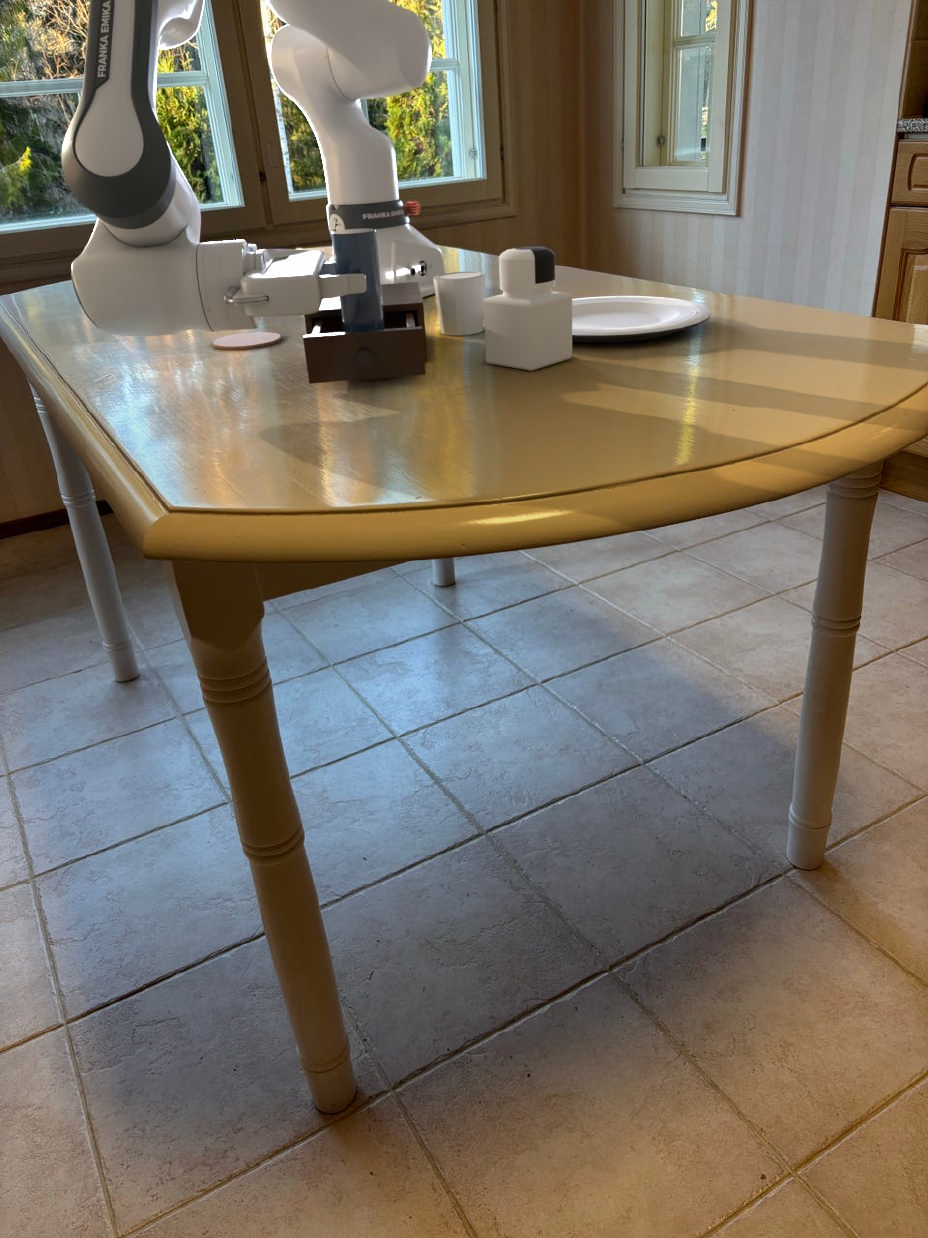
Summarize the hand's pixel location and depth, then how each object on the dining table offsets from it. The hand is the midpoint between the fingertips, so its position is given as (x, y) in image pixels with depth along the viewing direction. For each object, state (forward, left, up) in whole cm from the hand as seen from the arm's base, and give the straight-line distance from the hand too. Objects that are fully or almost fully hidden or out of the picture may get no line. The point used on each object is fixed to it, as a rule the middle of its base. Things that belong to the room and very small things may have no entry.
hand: (366, 276), depth 95 cm
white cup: (-22, -9, -11) cm, 26 cm away
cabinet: (-8, -10, -11) cm, 17 cm away
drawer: (0, -2, -10) cm, 10 cm away
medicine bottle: (-14, +10, -11) cm, 20 cm away
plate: (-33, +7, -11) cm, 36 cm away
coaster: (-2, -30, -11) cm, 32 cm away
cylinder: (+1, -1, -9) cm, 9 cm away
